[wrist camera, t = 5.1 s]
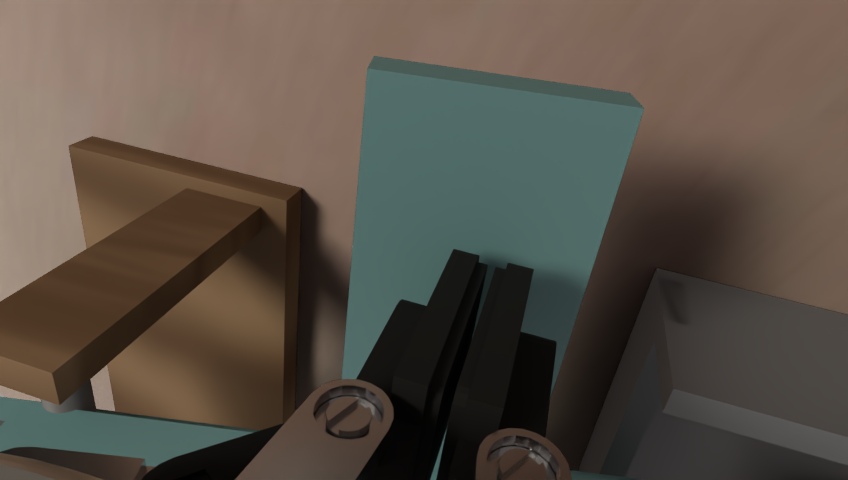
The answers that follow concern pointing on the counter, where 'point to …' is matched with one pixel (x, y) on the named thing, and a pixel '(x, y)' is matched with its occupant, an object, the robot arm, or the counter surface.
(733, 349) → the bin
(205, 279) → the lever stand
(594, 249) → the lever arm
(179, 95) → the counter surface
